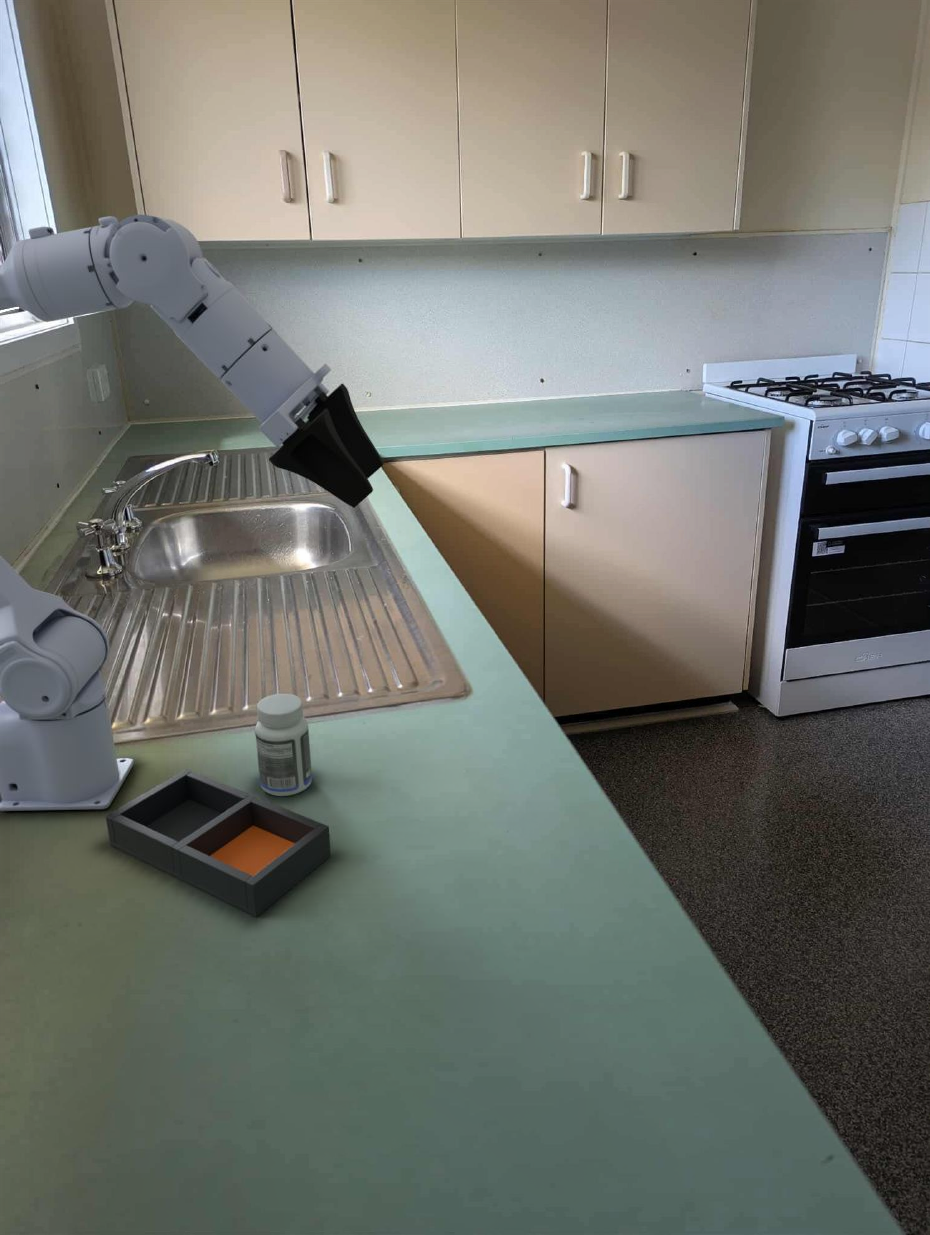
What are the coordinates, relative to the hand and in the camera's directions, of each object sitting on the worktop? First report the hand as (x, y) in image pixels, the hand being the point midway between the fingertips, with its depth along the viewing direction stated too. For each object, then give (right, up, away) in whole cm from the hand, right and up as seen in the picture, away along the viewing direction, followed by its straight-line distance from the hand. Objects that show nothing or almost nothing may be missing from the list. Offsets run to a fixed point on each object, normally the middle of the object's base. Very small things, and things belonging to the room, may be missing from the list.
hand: (369, 484), depth 71 cm
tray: (-12, -30, +1) cm, 32 cm away
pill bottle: (-9, -27, +10) cm, 30 cm away
